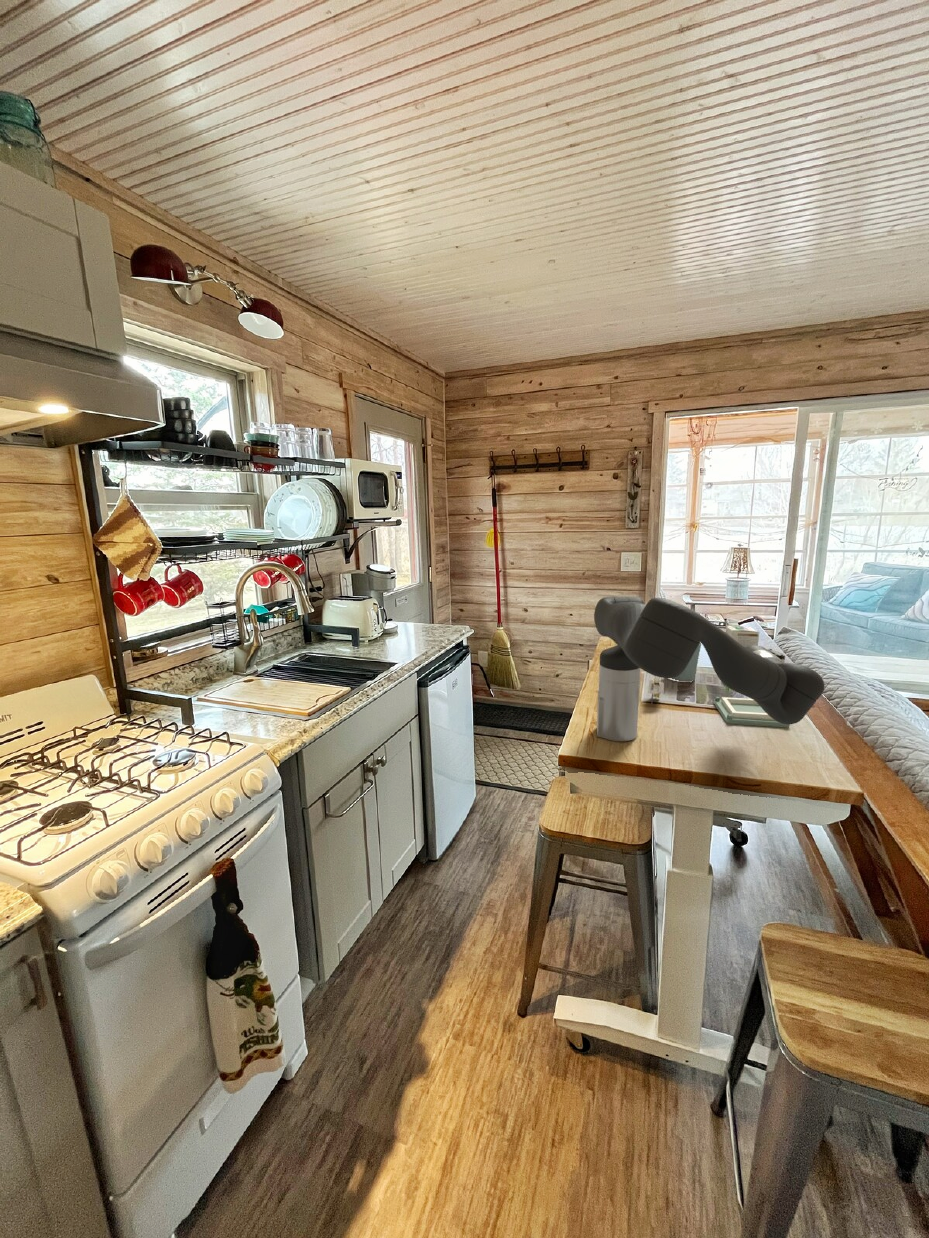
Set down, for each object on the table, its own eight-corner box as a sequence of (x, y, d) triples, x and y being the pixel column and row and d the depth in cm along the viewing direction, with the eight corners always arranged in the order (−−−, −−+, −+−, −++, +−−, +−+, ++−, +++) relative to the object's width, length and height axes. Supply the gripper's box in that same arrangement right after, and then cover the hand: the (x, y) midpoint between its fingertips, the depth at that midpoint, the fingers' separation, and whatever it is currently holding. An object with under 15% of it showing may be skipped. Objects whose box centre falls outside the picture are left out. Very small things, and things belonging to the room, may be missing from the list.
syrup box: (719, 684, 125) (724, 625, 122) (746, 685, 124) (751, 625, 121) (726, 692, 120) (731, 630, 117) (754, 693, 118) (760, 630, 116)
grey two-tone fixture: (678, 695, 151) (679, 673, 150) (678, 718, 135) (680, 694, 134) (634, 690, 156) (635, 669, 154) (630, 712, 139) (631, 689, 138)
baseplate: (726, 723, 130) (727, 714, 130) (713, 703, 143) (714, 694, 143) (789, 727, 127) (790, 718, 126) (769, 706, 140) (770, 698, 140)
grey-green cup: (657, 678, 165) (659, 641, 162) (672, 671, 172) (675, 635, 169) (689, 685, 158) (692, 647, 155) (703, 678, 164) (706, 641, 162)
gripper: (720, 684, 109) (702, 662, 125) (797, 687, 106) (769, 665, 122) (723, 648, 107) (705, 632, 123) (801, 651, 104) (772, 634, 120)
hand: (737, 648), depth 122 cm, fingers closed on syrup box, 6 cm apart
